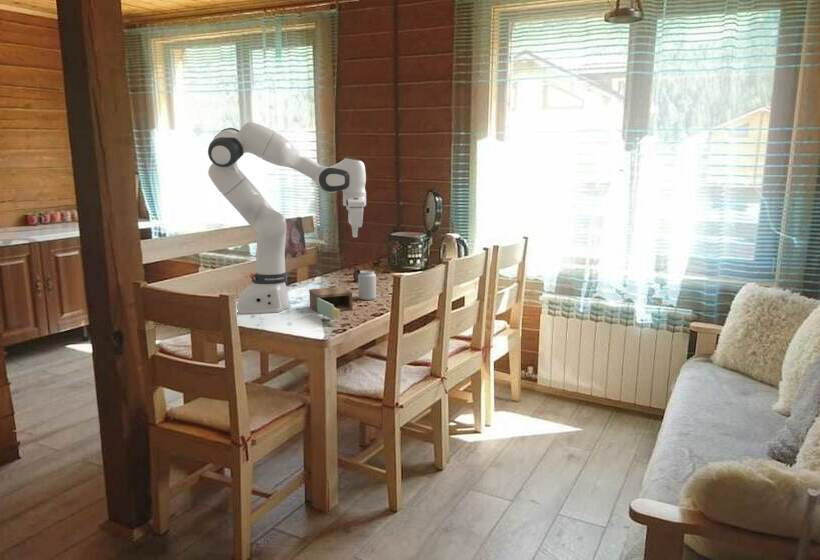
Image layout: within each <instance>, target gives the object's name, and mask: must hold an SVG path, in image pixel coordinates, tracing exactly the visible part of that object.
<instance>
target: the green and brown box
mask: <svg viewBox="0 0 820 560" xmlns="http://www.w3.org/2000/svg"><path fill="white" fill-rule="evenodd" d="M308 290H309V291H308V292H309V307H310V309H312V310H313V311H314V312H316V313H317V314H320V313H319V312H317V298H320V299H322V300H324V301H327V302H329V303H331V304H333V305H334V307H335V308H337V309H339V310H340V312H345V311H347V312H348V311H352V310H353V292H352V291H350V290H349V289H347V288H345V287H344V286H337V287H336V286H334V287H324V288H312V289H308Z"/></svg>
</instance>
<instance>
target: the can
mask: <svg viewBox="0 0 820 560" xmlns="http://www.w3.org/2000/svg"><path fill="white" fill-rule="evenodd" d="M359 271H360V274H359V275H358V282H357V283H358V299H360V300H362V301H373V300H375V299H376V298H377V274H376V273H375V270H359Z"/></svg>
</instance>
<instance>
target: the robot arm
mask: <svg viewBox="0 0 820 560" xmlns="http://www.w3.org/2000/svg"><path fill="white" fill-rule="evenodd" d="M207 149H208V150H207V153H208V154H207V156H208V158H209V160H210V162H212V163H211V164H210V166H209V168H208V172H207V175H208V177H209V178H210V180H211V182H212V183H213V185H214V186H215V187H216V188H217V190H218V191H219V193H220V194H221V195H223V197H224V198H225V199H226V200H227V201H228V202H229V203H230V204H231V206H233V208H234V209H235V210H236V211H237V212H238V213H239V214H240V215H241V216H242V218H243V219H244V220H245V221H246V222H247V223H248V225H250V227H251V228H252V229H253V230H254V231H255V232H256V251H255V258H256V259H255V260H256V261H255V262H256V273H253V272H252V273H250V274H249V278H250V279H251V283H250V285H248V286H247V287H245V288H244V289H243V290H242V291H240V293H239V296H238V299H237V300H238V301H237V310H238V313H237V314H238V315H244V314H245V315H246V314H249V315H250V314H265V313H266V314H267V313H268V314H269V313H270V314H271V313H279V312H282V311H283V310H288V309H290V308H291V307H292V305H291V302H290V298H289V295H288V289H287V286H288V275H287V271H286V257H285V254H286V253H285V252H286V242H287V240H286V239H287V226H288V224H287V220H286V218H285V216H284V215H283V214H282V213H280V212H278V211H277V210H275V209H274V208H273V207H272V206H271V205H270V203H269V202H268V201H267V200H266V199H265V197H264V196H263V195H262V194H261V192H260V191H259V190H258V188H256V186H255V185H254V183H252V182H251V180H250V179H249V178H248V177H247V176H246V175H245V174H244V173H243V172H242V171H241V169H240V168H239V166H238V164H237V161H238V160H239V159H240V158H242V157H243V155H244V154H246V153H249V154H252V155H254V156H256V157H258V158H260V159H261V160H263V161H266V162H268V163H270V164H273V165H276V166H279V167H286V168H289V169H293V170H294V171H297V172H300V173H301V174H303V175H304V176H306V177H308V178H309V179H311V180H312V181H314V182H315V183H316V185H317V186H318V187H319V188H320V189H321V190H322V191H324V192H326V193H337V192H339V191H342V206H344V207H346V210H347V212H348V216H347V217H348V218H347V220H348V224H349V225H350V226H351V233H352V238H358V236H359V234H358V233H359V228H362V227H363V219H364V208H365V207H366V206H367V190H366V182H367V173H366V165H365V163H364V162H363V161H362V159H358V158H352V157H345V158H343V159H342V160H341V161H340V162H337V163H335V164H333V165H322V164H320V163H318V162H316V161H314V160H312V159H310V158H309V157H306V155H303V154H302V153H301V152H300V151H299V150H297V148H295V146H294V145H293V144H292V143H291V141H289V140H288V139H287V138H286V137H284V136H282V134H280V133H278V132H276V131H274V130H273V129H270V128H269V127H266V126H264V125H261V124H259V123H256V122H252V121H249V122H246V123H244V124H243V125H242V126H241V127H240V128H239V129H237V128H234V127H226V128H224V129H222V130H221V131H219V132H218V133H217V134H216V135H215V136H214V138H213V139H212V140H211V142H210V143H209V145H208V148H207Z"/></svg>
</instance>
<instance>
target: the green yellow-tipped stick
mask: <svg viewBox="0 0 820 560" xmlns="http://www.w3.org/2000/svg"><path fill="white" fill-rule="evenodd" d="M317 312H319V313H318V314H321V315H323V316H325V317H326V318H329V319H330V320H335V319H336V320H340V319H341V316H340V314H341V311H340V310H339V309H337V308H335V307H334V305H333V304H331V303H329V302H327V301H324V300H322V299H320V298H317ZM317 312H316V313H317Z"/></svg>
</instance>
